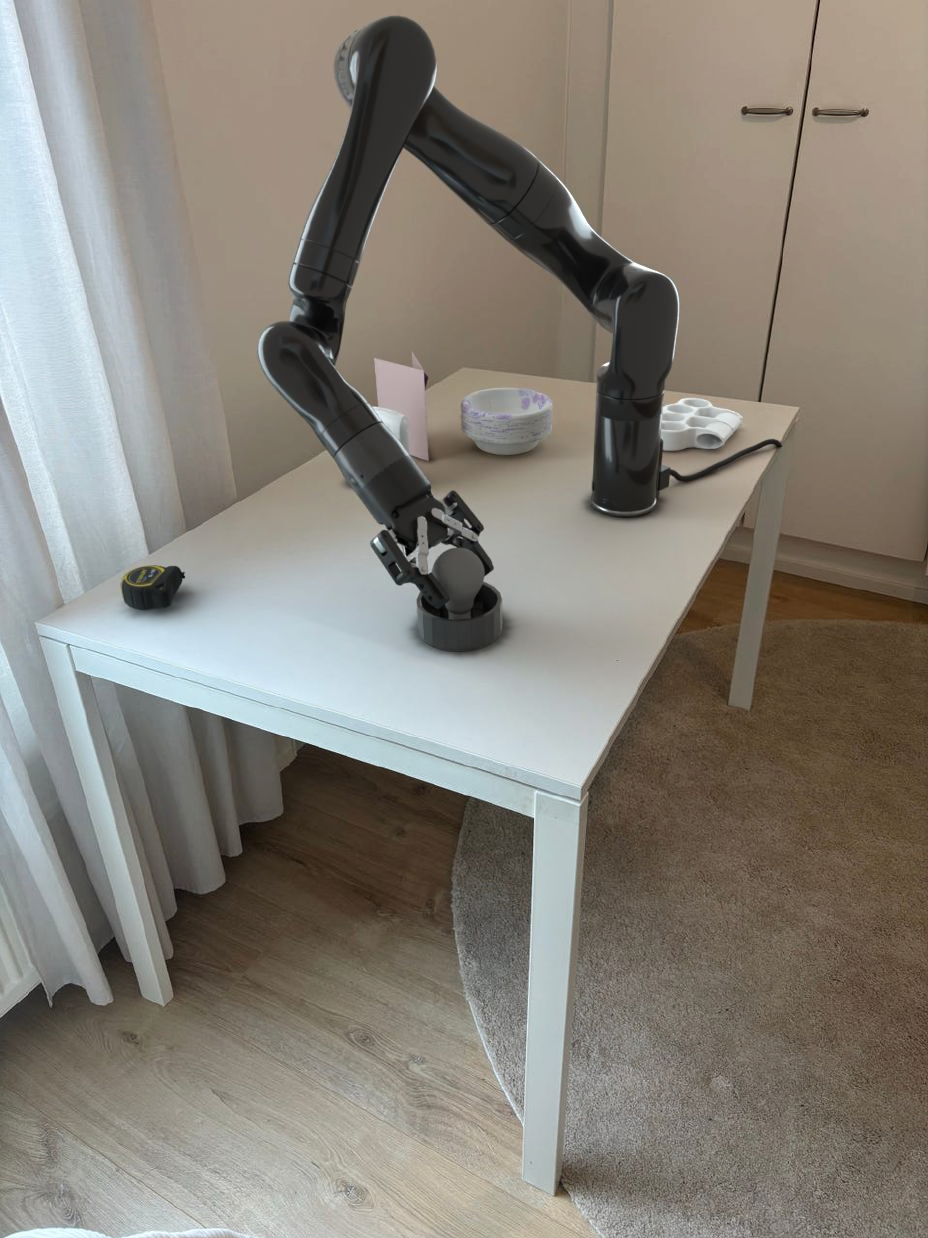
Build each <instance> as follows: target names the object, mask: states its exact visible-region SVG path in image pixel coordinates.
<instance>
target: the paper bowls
mask: <svg viewBox="0 0 928 1238" xmlns="http://www.w3.org/2000/svg"><path fill="white" fill-rule="evenodd" d="M553 403H554V402H553V400H552V399H551V398H550V397H549V396H548V395H546V394H544V393H541V392H540V391H536V390H533V389H527V388H519V387H518V388H517V387H493V388H485V389H481V390H476V391H473V392H471V393H469V394H467V395H465V396H464V397H463V398H462V400H461V403H460V424H461V425H460V426H461V431H462V433H463V434H464V435H465V436H467V437H468V438H471V439H472V440H473V441H474V444H475V445H476V446H477V448H479V450H481V451H483V452H485V453H488V454H492V455H496V456H517V455H522V454H526V453H528V452H530V451H532V450H533V449H535V448H536V447H537V446H538V443H539V442H540V440H543V439H545V438H546V437H548V436H549V435H550V434H551V433H552V428H553V410H554V409H553V406H554V404H553Z"/></svg>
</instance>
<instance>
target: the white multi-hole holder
mask: <svg viewBox="0 0 928 1238" xmlns="http://www.w3.org/2000/svg"><path fill="white" fill-rule="evenodd" d="M743 419H744V418H743V416H742V415H741V414H740V413H738V412H737V411H733V410H731V409H727V408H723V407H715V406H713V404H712V402H710V401H709V400H707V399H703V398H698V397H686V398H680V399H678V401H677V402H675V403H671V404H666V405H663V414H662V426H661V438H662V439H663V451H664V452H665V451H666V452H676V451H682V450H685V449H689V448H696V449H703V450H717V449H718V448H721V447H723V446H724V445H725V443H726V442H727V440H728V439H729V438H730V437H732V436H733V435H734V432H736V430H737V429H738V428H739V427H740V426H742V424H743V422H744V420H743Z"/></svg>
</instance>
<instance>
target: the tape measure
mask: <svg viewBox="0 0 928 1238" xmlns="http://www.w3.org/2000/svg"><path fill="white" fill-rule="evenodd" d="M185 574H186V572H185V571H182V570H181V568H180V567H179V566H177V565H168V566H162V565H157V564H150V565H142V566H139V567H135V568H133V569H131V570H129V571H127V572H126V573H125V574H124V576H122V578H121V582H120V584H119V585H120V591H121V595H122V599H123V602H124V603H125V605H127V606H128V607H129V608H131V609H134V610H138V611H147V610H150V611H151V610H156V609H165V608H168V607H169V606H171V605H172V603H173V600H174V597H175V596H176V594H177V592H178V590H179V589H180V587H181V585H182V584H183V580H184V579H186V575H185Z"/></svg>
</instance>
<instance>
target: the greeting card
mask: <svg viewBox="0 0 928 1238" xmlns="http://www.w3.org/2000/svg"><path fill="white" fill-rule="evenodd" d="M411 360H412V361H411V362H412V364H411V365H412V367H411V366H408V365H403V364H399V363H395V362H392V361H388V360H384V359H381V358H377V357H374V371H375V383H376V395H377V407H382V408H387V409H391V410H394V411H397V412H399V413H401V414H403V415H405V416H406V417H407V420H408V430H409V448H410V456H411V457H416V458H418V459H421V460H424V461H427V462H429V461H430V459H429V458H430V457H429V440H428V437H429V436H428V420H427V419H428V417H427V403H426V390H427V389H426V388H427V384H428V380H429V376H428V375H427V374H426V373H425V370H424V369H423V367H422V365H421V363H420V362H419V360H418V358H417V357H416V355H415V354H414V352H413V351H411Z"/></svg>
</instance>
